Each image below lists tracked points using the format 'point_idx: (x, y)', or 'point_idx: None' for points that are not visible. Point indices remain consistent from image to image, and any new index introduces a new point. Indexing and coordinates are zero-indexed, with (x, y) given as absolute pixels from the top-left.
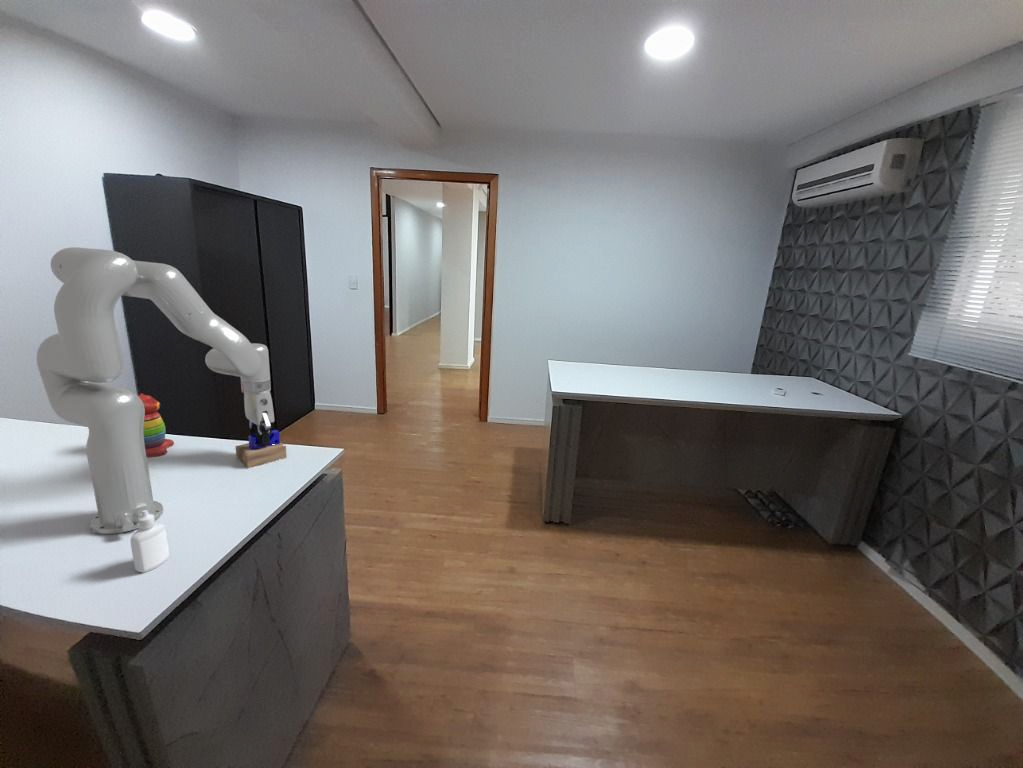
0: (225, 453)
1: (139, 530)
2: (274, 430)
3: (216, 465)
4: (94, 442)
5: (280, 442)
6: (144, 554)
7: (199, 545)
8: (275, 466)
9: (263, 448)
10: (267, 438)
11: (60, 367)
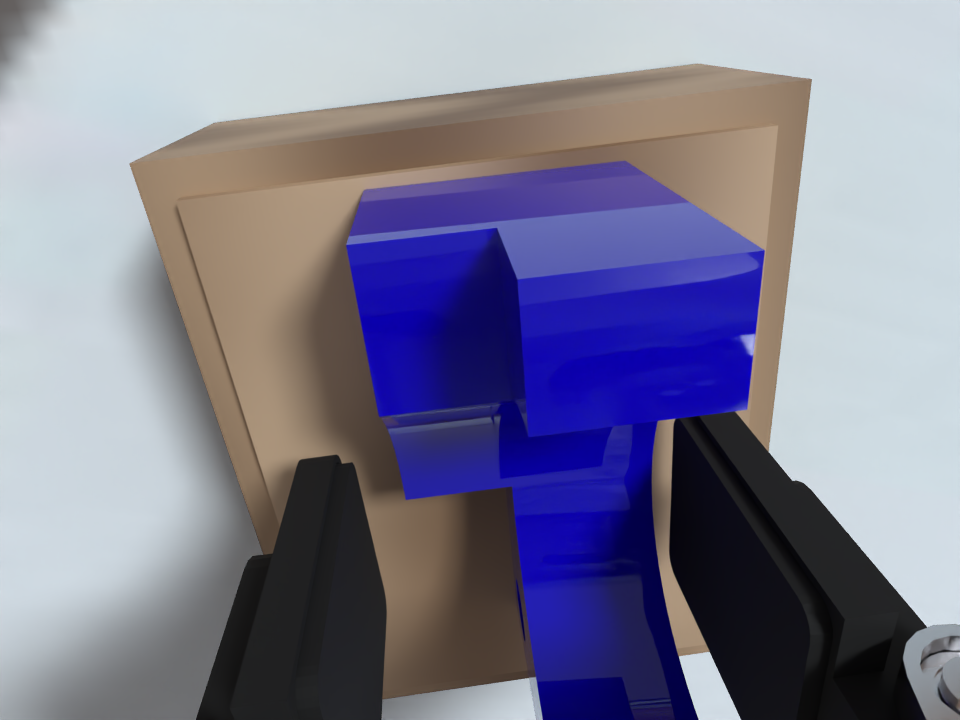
0: (131, 627)
1: None
2: (551, 352)
3: (424, 700)
4: None
5: (533, 117)
6: None
7: None
8: (848, 280)
9: (668, 460)
10: (854, 551)
11: None
